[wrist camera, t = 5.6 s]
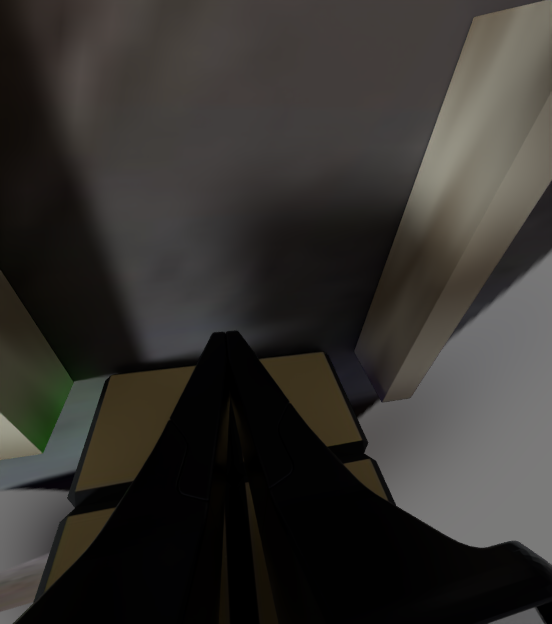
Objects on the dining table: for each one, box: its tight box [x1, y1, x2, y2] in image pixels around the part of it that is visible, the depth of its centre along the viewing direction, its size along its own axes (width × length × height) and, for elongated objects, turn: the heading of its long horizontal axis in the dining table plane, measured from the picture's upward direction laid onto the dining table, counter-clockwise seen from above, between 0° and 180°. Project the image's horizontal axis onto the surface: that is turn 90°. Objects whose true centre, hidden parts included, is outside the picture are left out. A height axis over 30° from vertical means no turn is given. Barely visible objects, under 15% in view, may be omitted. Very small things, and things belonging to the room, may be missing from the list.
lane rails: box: [0, 0, 552, 460], centre depth 8 cm, size 12×16×3 cm
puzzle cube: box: [33, 351, 396, 624], centre depth 12 cm, size 10×10×10 cm
